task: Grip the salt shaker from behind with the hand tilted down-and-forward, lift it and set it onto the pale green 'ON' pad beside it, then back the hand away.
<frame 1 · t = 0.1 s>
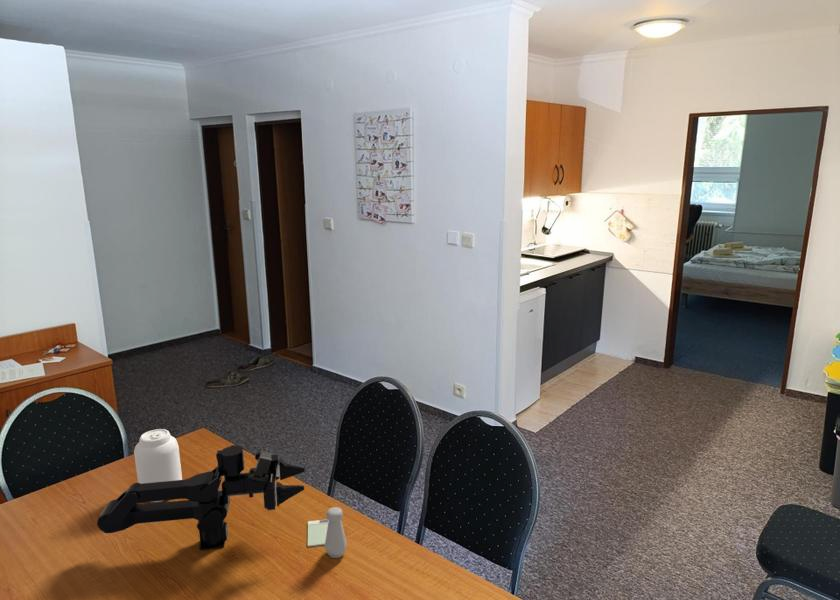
hand: (304, 478, 158), 17 cm above the table, tool horizontal, fingers open, 9 cm apart
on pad: (324, 534, 160), on the table
salt shaker: (336, 553, 153), on the table
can: (161, 492, 181), on the table
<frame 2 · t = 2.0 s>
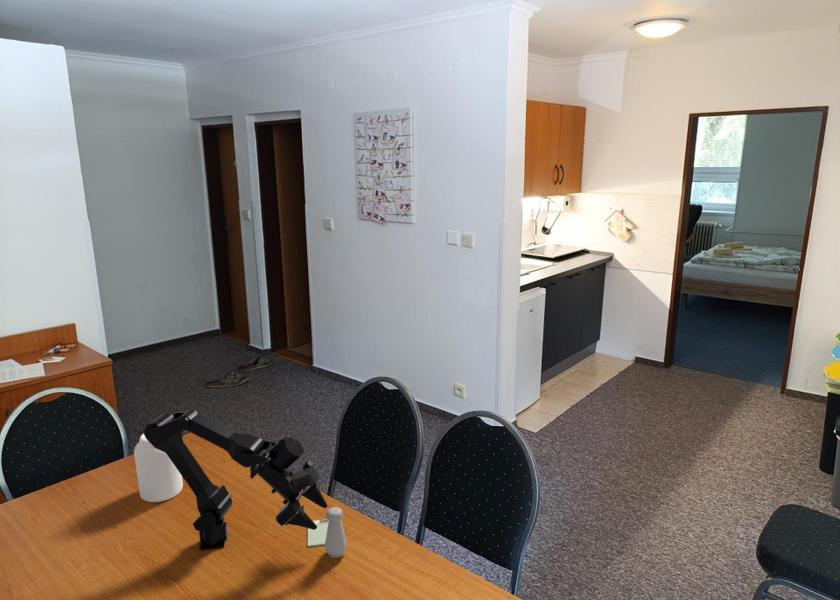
hand: (321, 517, 151), 11 cm above the table, tool tilted 45°, fingers open, 9 cm apart
nothing on the table moved.
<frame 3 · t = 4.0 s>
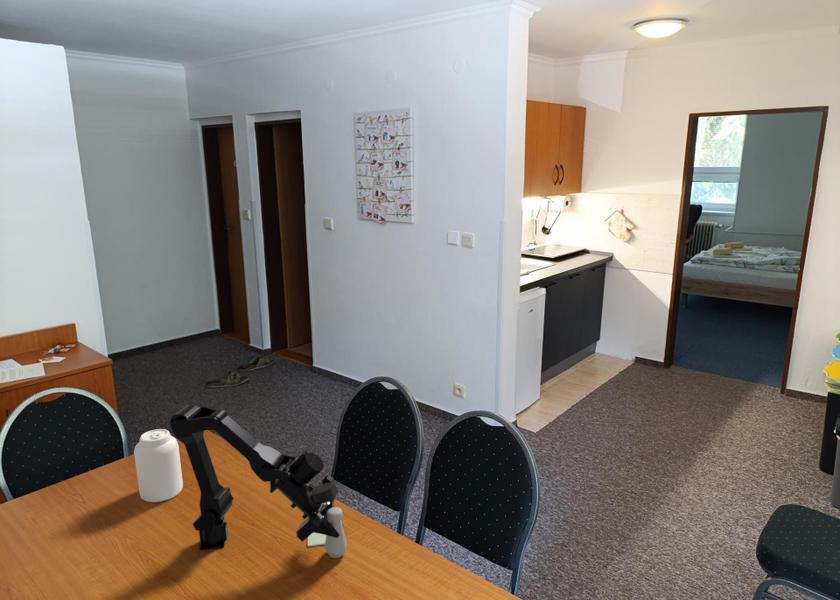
hand: (340, 532, 151), 7 cm above the table, tool tilted 45°, fingers closed on salt shaker, 3 cm apart
salt shaker: (336, 553, 153), on the table, touching gripper
everything else where it was.
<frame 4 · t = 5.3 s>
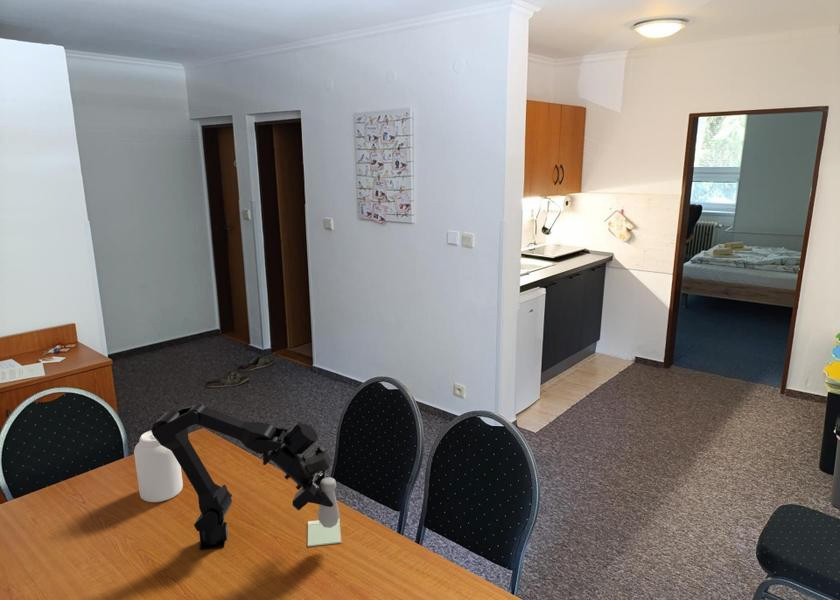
hand: (333, 501, 153), 13 cm above the table, tool tilted 45°, fingers closed on salt shaker, 3 cm apart
salt shaker: (329, 523, 155), point 6 cm above the table, touching gripper
everything else where it was.
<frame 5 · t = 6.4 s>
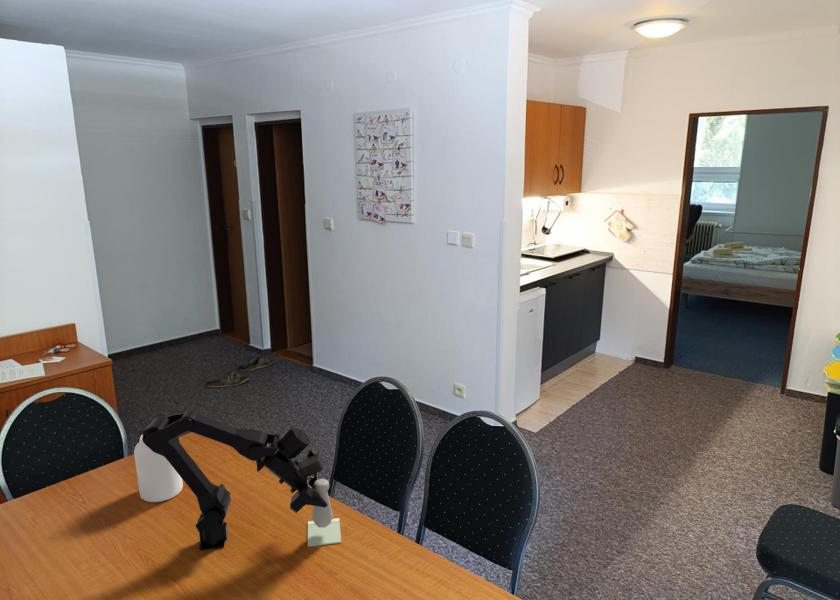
hand: (326, 502, 158), 10 cm above the table, tool tilted 45°, fingers closed on salt shaker, 3 cm apart
salt shaker: (322, 523, 160), point 3 cm above the table, touching gripper
everything else where it was.
when the fingers open (8 cm above the table, at t = 7.1 s): salt shaker drops 1 cm, resting on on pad.
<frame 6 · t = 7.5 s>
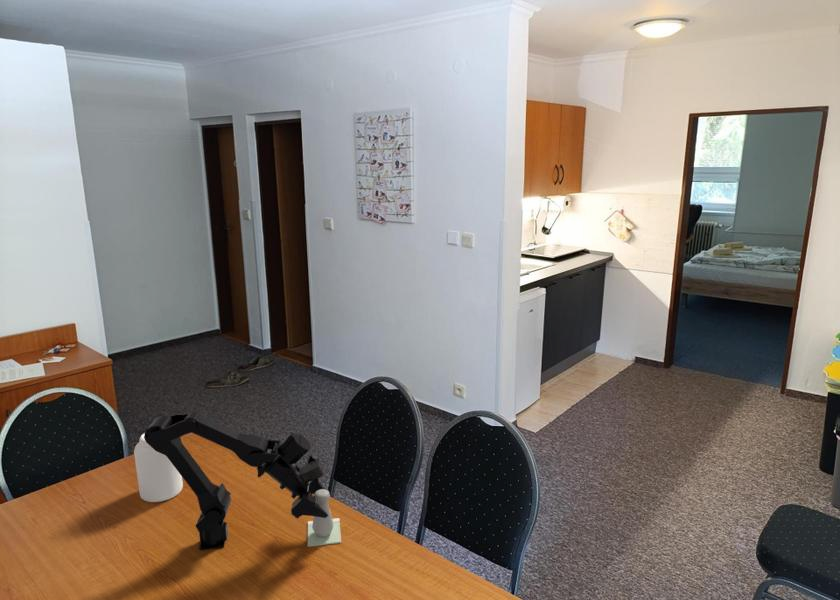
hand: (327, 507, 158), 9 cm above the table, tool tilted 45°, fingers open, 8 cm apart
salt shaker: (323, 533, 160), resting on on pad
everything else where it was.
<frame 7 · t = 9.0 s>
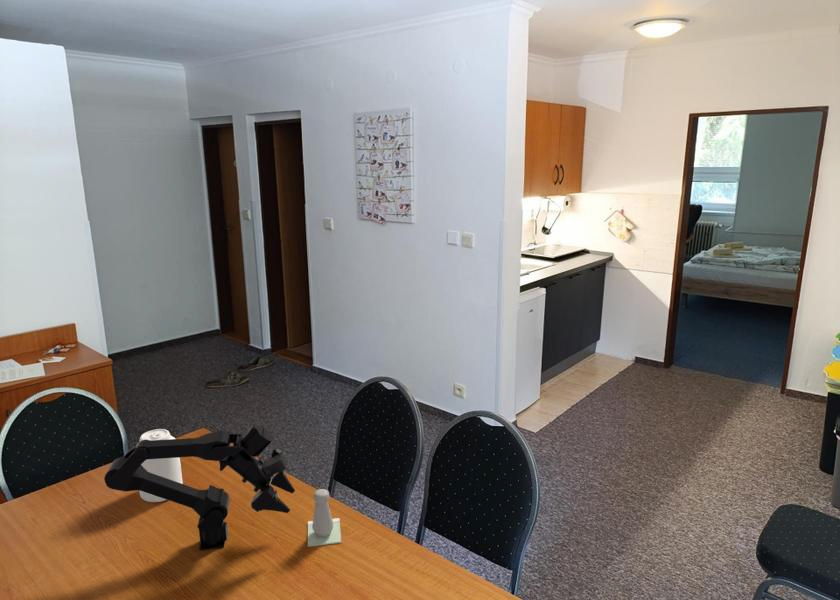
hand: (291, 501, 158), 11 cm above the table, tool tilted 45°, fingers open, 9 cm apart
nothing on the table moved.
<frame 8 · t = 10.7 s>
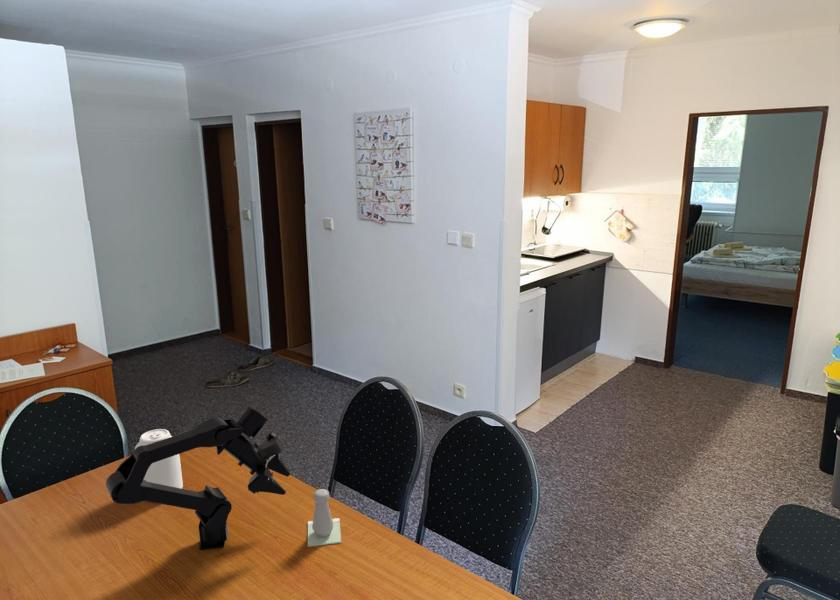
hand: (287, 484, 161), 14 cm above the table, tool tilted 45°, fingers open, 9 cm apart
nothing on the table moved.
at the end: salt shaker inside the target area on the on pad (0.2 cm from its centre), point 0.2 cm above the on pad's base; salt shaker tilted 0°; the gripper is holding nothing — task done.
